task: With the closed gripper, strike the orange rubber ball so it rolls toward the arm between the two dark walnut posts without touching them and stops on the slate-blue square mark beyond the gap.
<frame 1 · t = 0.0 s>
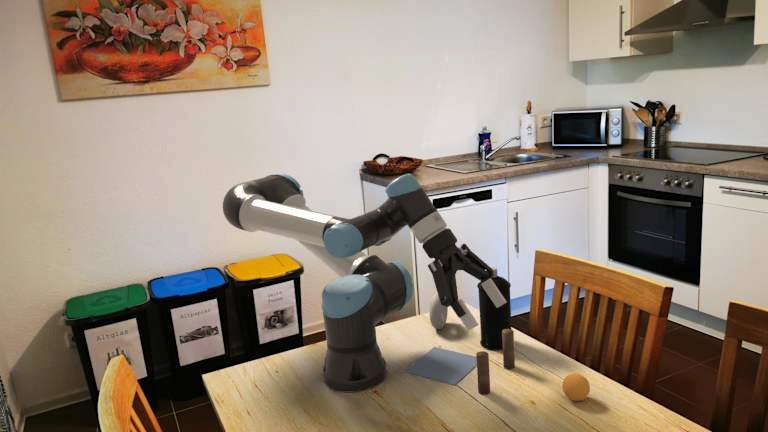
hand: (488, 316, 134), 15 cm above the table, tool tilted 35°, fingers open, 13 cm apart
donut: (440, 328, 166), on the table
aerosol can: (496, 344, 154), on the table
post 2: (509, 366, 142), on the table
ball: (575, 387, 126), on the table
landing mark: (443, 365, 145), on the table
post 1: (484, 391, 132), on the table
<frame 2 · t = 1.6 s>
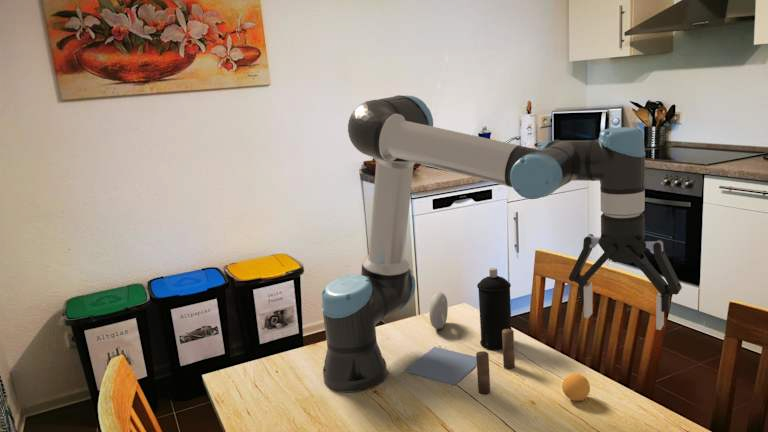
hand: (623, 321, 116), 19 cm above the table, tool pointing down, fingers open, 12 cm apart
nothing on the table moved.
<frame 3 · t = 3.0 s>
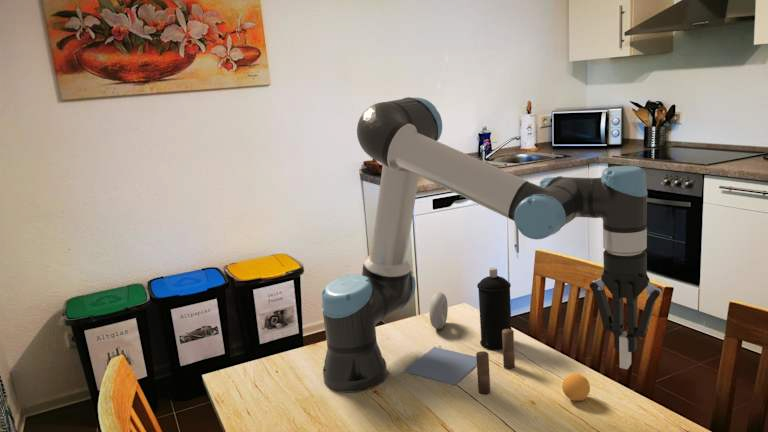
hand: (625, 365, 118), 10 cm above the table, tool pointing down, fingers closed
nothing on the table moved.
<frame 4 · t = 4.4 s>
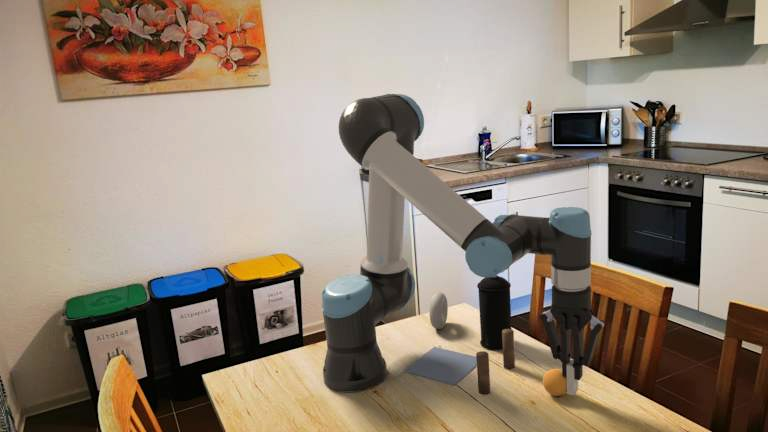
hand: (572, 391, 126), 2 cm above the table, tool pointing down, fingers closed
ball: (556, 382, 128), on the table
everything else where it was.
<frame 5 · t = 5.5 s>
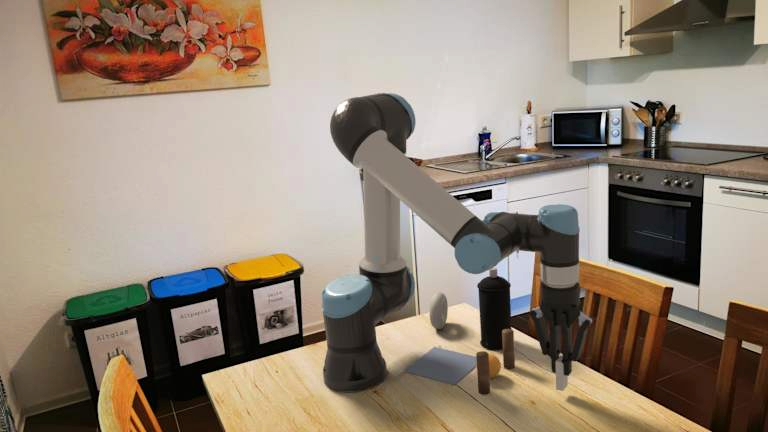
hand: (561, 387, 128), 2 cm above the table, tool pointing down, fingers closed
ball: (488, 365, 138), on the table
everything else where it was.
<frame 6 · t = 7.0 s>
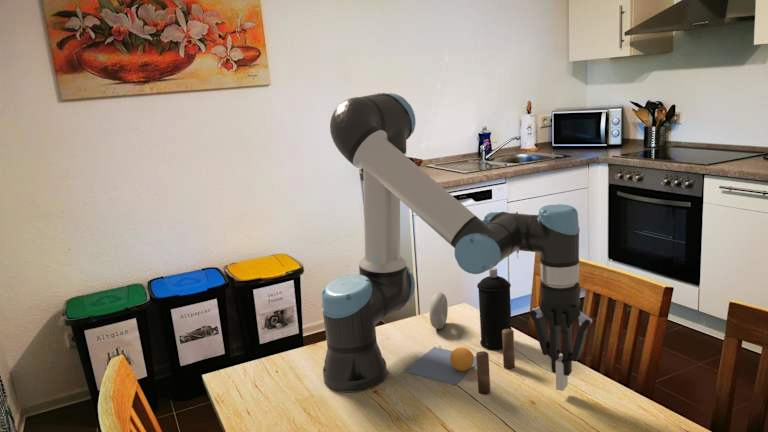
hand: (561, 387, 128), 2 cm above the table, tool pointing down, fingers closed
ball: (461, 359, 142), on the table
everything else where it was.
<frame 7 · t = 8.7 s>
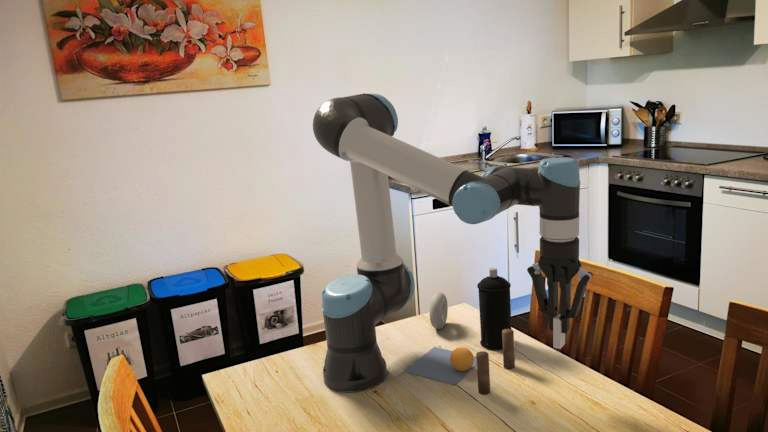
hand: (559, 345, 126), 11 cm above the table, tool pointing down, fingers closed
nothing on the table moved.
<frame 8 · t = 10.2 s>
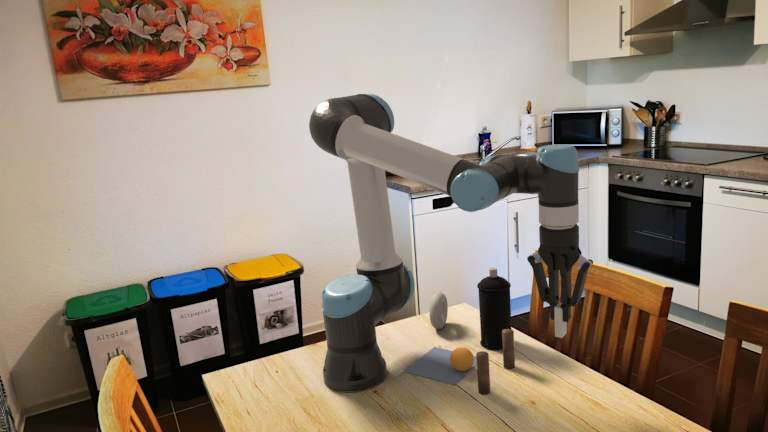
hand: (560, 334, 125), 14 cm above the table, tool pointing down, fingers closed
nothing on the table moved.
at the end: ball 5.0 cm from the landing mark (horizontally); ball never touched post 2; ball never touched post 1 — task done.
